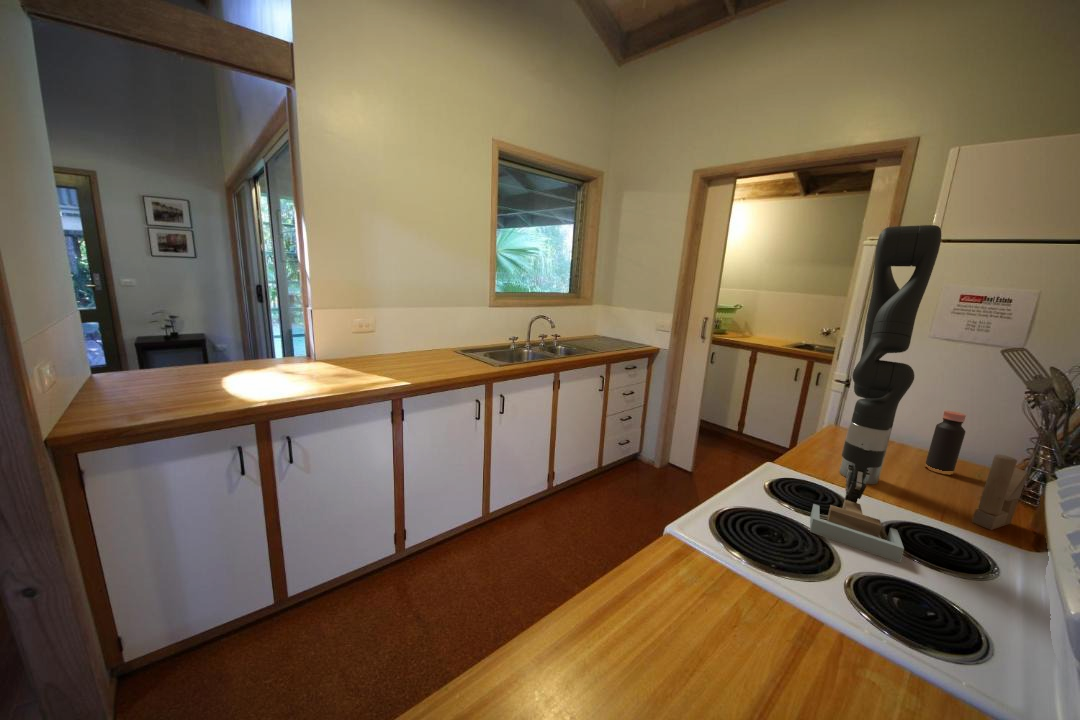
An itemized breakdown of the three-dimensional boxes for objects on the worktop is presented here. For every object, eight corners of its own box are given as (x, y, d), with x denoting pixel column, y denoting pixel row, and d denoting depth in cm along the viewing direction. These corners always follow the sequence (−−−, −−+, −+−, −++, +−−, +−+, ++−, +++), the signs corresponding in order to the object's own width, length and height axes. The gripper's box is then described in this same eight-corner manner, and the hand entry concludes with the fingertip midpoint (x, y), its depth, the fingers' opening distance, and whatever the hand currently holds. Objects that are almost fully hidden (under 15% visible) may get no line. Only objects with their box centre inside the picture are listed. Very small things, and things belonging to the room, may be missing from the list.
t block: (826, 509, 99) (829, 495, 98) (872, 524, 94) (876, 508, 94) (827, 526, 92) (830, 510, 91) (877, 542, 87) (881, 525, 86)
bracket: (810, 516, 95) (813, 503, 95) (893, 543, 87) (897, 529, 87) (810, 531, 89) (813, 518, 88) (900, 562, 80) (904, 548, 80)
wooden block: (1011, 524, 101) (1033, 457, 97) (991, 531, 96) (1014, 461, 93) (990, 516, 104) (1011, 450, 101) (970, 522, 100) (991, 454, 96)
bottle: (927, 471, 131) (944, 412, 127) (921, 464, 137) (937, 408, 133) (956, 478, 127) (973, 418, 124) (948, 470, 133) (965, 413, 130)
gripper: (844, 431, 102) (829, 493, 106) (847, 446, 92) (830, 514, 95) (882, 439, 98) (865, 503, 102) (889, 456, 88) (870, 527, 91)
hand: (848, 509), depth 98 cm, fingers closed
